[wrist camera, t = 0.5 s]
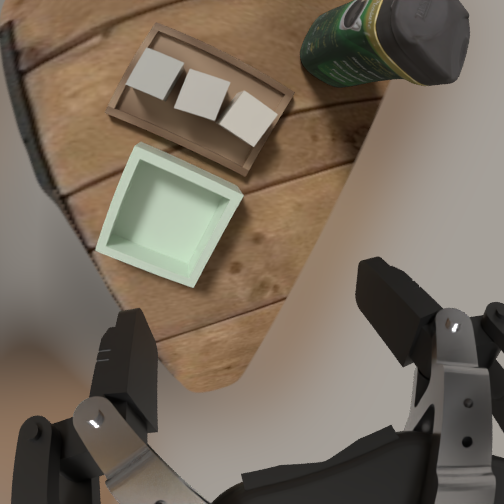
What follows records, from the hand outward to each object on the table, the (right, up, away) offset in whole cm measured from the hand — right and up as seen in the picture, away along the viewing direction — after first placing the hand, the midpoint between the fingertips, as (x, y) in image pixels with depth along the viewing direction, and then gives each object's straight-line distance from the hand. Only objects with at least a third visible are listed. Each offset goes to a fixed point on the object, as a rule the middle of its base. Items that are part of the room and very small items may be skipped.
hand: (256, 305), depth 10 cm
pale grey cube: (-6, +18, +17) cm, 25 cm away
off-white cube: (-10, +20, +15) cm, 26 cm away
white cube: (-1, +16, +19) cm, 25 cm away
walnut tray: (-6, +18, +17) cm, 26 cm away
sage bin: (-10, +7, +22) cm, 25 cm away
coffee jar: (+9, +26, +17) cm, 32 cm away
